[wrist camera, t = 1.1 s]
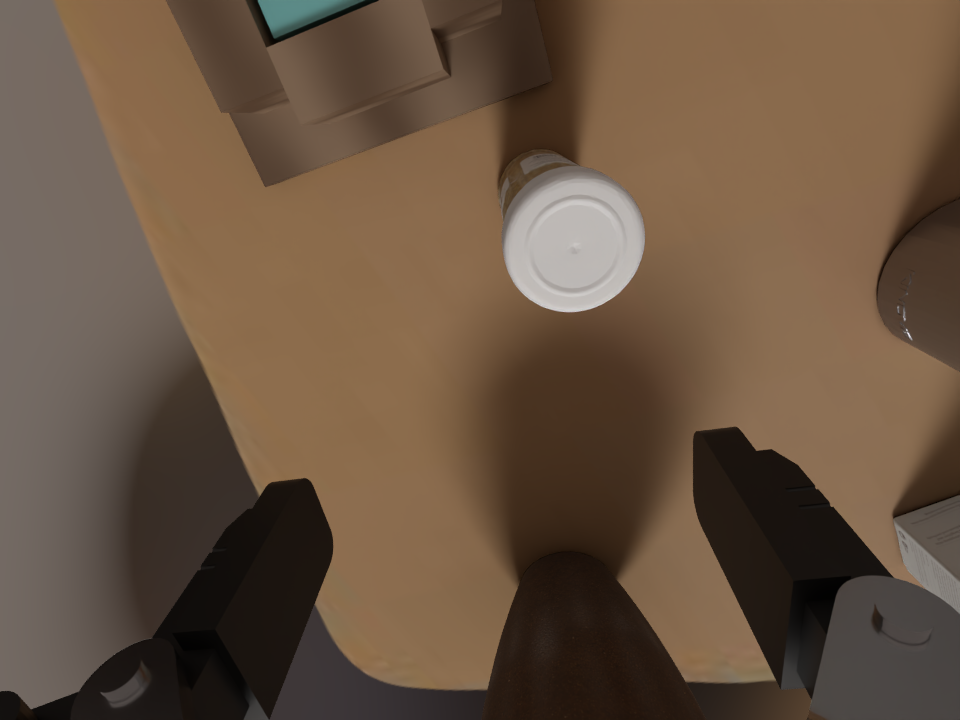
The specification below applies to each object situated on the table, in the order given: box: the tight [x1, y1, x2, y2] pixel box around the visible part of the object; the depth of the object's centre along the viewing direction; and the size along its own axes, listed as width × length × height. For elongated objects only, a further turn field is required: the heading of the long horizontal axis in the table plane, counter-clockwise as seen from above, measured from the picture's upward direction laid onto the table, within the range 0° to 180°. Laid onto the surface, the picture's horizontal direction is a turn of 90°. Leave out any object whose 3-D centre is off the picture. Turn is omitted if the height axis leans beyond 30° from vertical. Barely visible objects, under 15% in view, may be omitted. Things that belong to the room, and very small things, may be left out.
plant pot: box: [482, 552, 706, 720], centre depth 34 cm, size 15×15×16 cm
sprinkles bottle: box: [498, 149, 645, 312], centre depth 22 cm, size 5×5×13 cm
